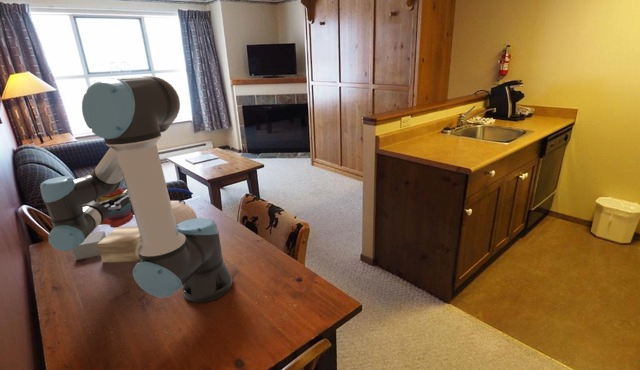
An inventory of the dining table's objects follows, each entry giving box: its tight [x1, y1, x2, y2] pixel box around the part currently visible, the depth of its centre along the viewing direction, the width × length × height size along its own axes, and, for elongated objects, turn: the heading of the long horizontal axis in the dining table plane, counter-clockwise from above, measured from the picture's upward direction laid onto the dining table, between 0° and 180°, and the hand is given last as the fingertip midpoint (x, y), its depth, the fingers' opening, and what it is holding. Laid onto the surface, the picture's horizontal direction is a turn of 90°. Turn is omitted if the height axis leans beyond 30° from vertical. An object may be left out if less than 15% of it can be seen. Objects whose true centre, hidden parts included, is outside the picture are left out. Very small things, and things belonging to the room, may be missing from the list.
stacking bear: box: [99, 187, 134, 229], centre depth 123 cm, size 11×10×18 cm
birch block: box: [97, 225, 142, 263], centre depth 130 cm, size 13×13×8 cm
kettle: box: [167, 187, 197, 225], centre depth 147 cm, size 20×21×18 cm
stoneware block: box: [72, 230, 107, 261], centre depth 132 cm, size 9×9×6 cm
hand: (117, 191), depth 127 cm, fingers closed on stacking bear, 9 cm apart
